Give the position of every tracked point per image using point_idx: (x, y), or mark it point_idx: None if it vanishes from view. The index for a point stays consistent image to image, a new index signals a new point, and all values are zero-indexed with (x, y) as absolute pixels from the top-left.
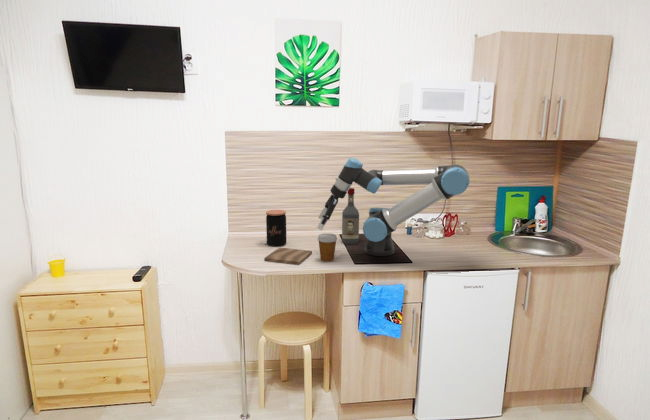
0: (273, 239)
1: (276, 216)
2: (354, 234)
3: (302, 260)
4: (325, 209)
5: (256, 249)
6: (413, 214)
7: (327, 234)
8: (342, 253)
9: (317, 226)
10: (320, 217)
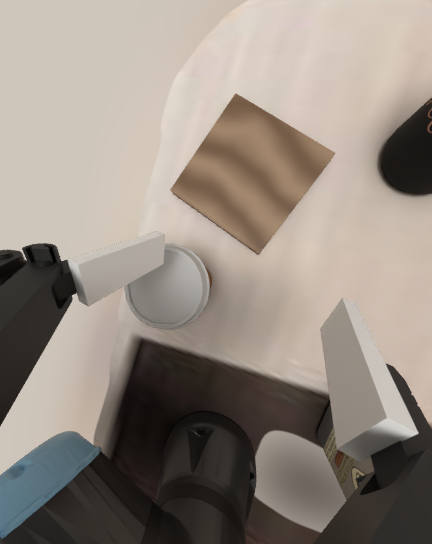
0: (408, 121)
1: None
2: (334, 465)
3: (191, 205)
4: (357, 410)
5: (368, 82)
6: None
7: (193, 299)
8: (230, 344)
9: (157, 235)
10: (335, 317)
